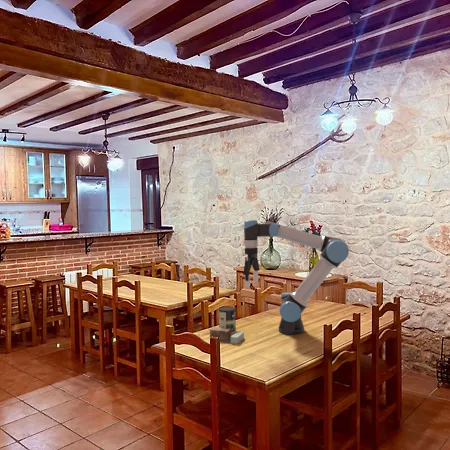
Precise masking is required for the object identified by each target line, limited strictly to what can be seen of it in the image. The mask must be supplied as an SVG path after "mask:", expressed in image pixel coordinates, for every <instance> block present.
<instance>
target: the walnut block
mask: <svg viewBox="0 0 450 450" xmlns="http://www.w3.org/2000/svg"><path fill="white" fill-rule="evenodd" d="M212 336H213V337H218V338H220V339H221V340H229V339H230V338H231V336H232V334H231V329H226V328H219V327H218V326H217V327H216V326H213V327H211V328H210V329H209V338H210V337H212Z"/></svg>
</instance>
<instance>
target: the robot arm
mask: <svg viewBox="0 0 450 450" xmlns="http://www.w3.org/2000/svg"><path fill="white" fill-rule="evenodd" d="M243 224H244V226H243V233H244V235H243V236H244V237H243V238H244V241H243V243H244V255H247V256H245V258H244V267H243V273H242V275H243V276H244V284H245V285H244V286H245V287H246V288H247V287H249V288H250V287H251V275H250V272H251V269H252V268H253V272H252V276H253V280H252V281H253V283H259V271H260V265H259V259H258V258H259V257H258V254H259V248H258V246H259V243H258V237H259V238H260V237H262V238H263V237H264V238H265V237H266V238H267V237H269V238H270V237H271V238H274V237H275V238H280V239H282V240H283V239H284V240H286V241H289V242H293V243H296V244H300V245H303V246H306V247H310V248H312V249H313V248H314V249H317V250H318V251H319V252H320V254H319V258H320V259H318V261H317V262H316V264H315V265H314V266H313V268H312V269H311V270H310V271H309V273H307V275H306V276H305V278H304V279H303V280H302V281H301V283H300V285H298V287H297V288H296V290H295V291H294V292H292V291H291V292H282V293H281V295H280V300H281V301H280V307H279V314H280V322H279V326H278V332H279V333H280V334H284V335H293V336H294V335H301V334H303V333H304V332H305V325H304V323H303V320H302V313H303V312H304V311H305V309H306V308H307V307H308V303H307V302H308V301H309V300H310V298H311V297H312V296H313V295H314V293H315V292H316V291H317V289H318V288H319V287H320V286H321V284H322V283H323V282H324V281H325V279H326V278H327V276H329V274H330V273H331V272H332V270H333V269H337V268H339V266H340V265H341V264H342V263H343V262H344V261H345V260H346V259H347V258H348V256H349V252H350V250H349V246H348V244H347V243H346V242H345V241H344V240H343V239H341V238H338V237H332V236H327V235H323V236H321V235H319V234H318V235H317V234H314V233H310V232H307V231H303V230H300V229H296V228H292V227H289V226H286V225H282V224H279V223H275V222H274V221H267V222H266V223H264V222H263V223H258V221H257V220H256V219H246V220H244V223H243Z"/></svg>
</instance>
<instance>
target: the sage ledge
mask: <svg viewBox="0 0 450 450" xmlns="http://www.w3.org/2000/svg"><path fill="white" fill-rule="evenodd" d="M243 339H245V332H244V331H236V332H235V333H233V334H231V342H230V344H235V345H236V344H237V345H238V344H239V343H241V341H243Z"/></svg>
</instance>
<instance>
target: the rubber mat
mask: <svg viewBox="0 0 450 450" xmlns="http://www.w3.org/2000/svg"><path fill="white" fill-rule="evenodd" d="M220 341H221V342H220V343H228V344H231V338H230V339H229V340H221V339H220Z"/></svg>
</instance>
